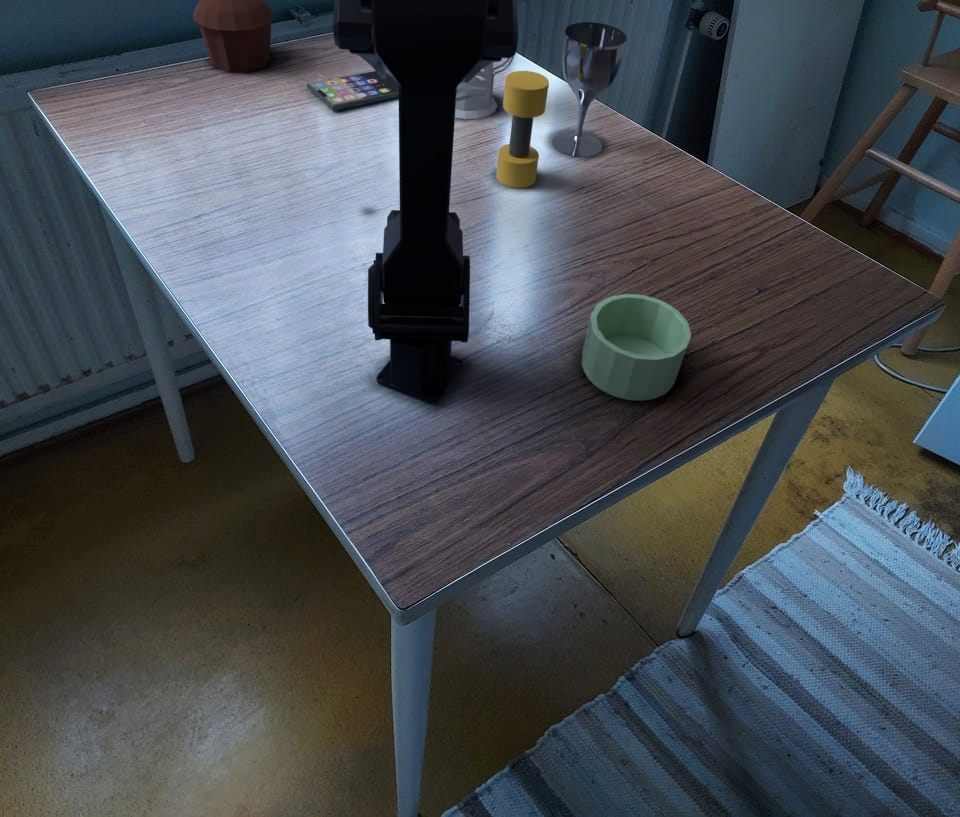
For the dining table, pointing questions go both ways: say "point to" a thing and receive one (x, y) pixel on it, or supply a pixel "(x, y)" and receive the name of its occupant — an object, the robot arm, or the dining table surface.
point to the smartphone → (355, 89)
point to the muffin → (235, 32)
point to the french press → (477, 94)
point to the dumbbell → (521, 127)
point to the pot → (635, 346)
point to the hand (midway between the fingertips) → (425, 77)
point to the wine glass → (588, 77)
